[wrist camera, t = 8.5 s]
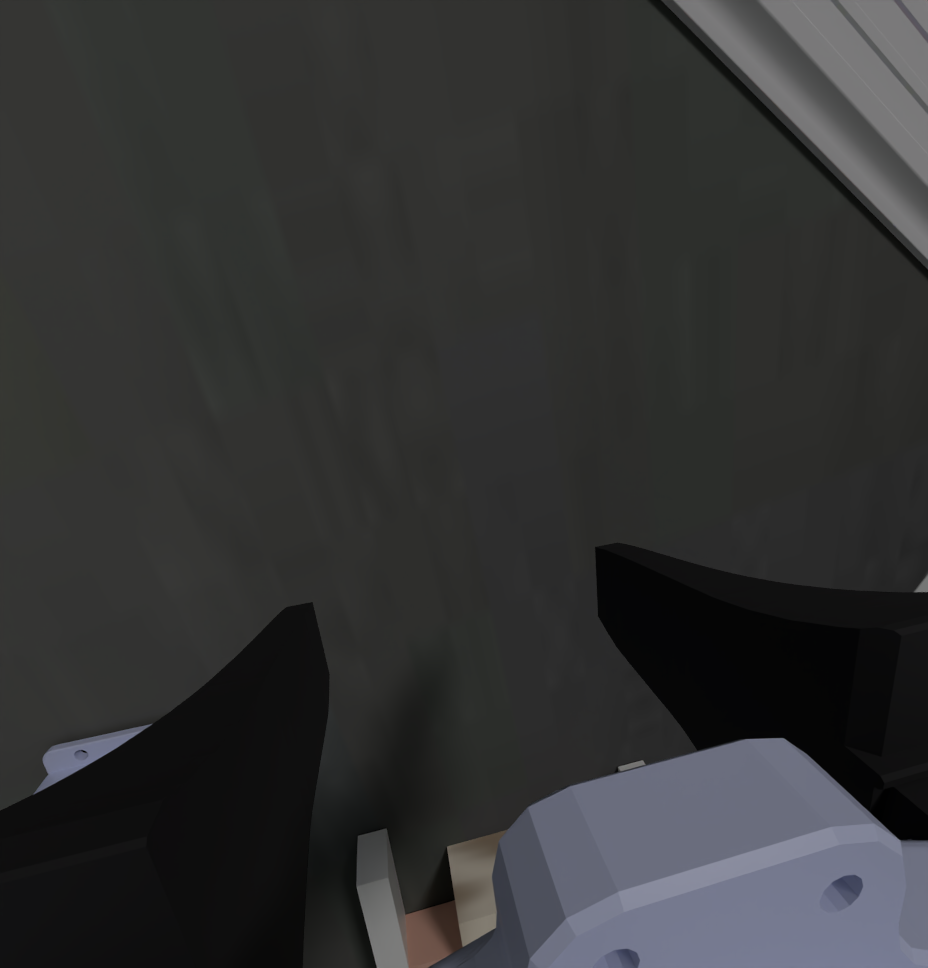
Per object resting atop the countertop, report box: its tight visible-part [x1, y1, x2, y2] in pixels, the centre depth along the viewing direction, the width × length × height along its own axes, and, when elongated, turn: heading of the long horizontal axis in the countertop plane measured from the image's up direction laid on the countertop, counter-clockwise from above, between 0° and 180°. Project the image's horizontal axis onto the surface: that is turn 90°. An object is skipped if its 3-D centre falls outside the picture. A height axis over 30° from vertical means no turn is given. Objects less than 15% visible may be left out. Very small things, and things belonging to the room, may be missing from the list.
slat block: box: [447, 830, 507, 947], centre depth 26 cm, size 10×4×4 cm, turn 97°
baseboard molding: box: [661, 0, 928, 269], centre depth 19 cm, size 31×3×12 cm
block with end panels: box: [356, 760, 645, 968], centre depth 26 cm, size 16×8×2 cm, turn 97°
